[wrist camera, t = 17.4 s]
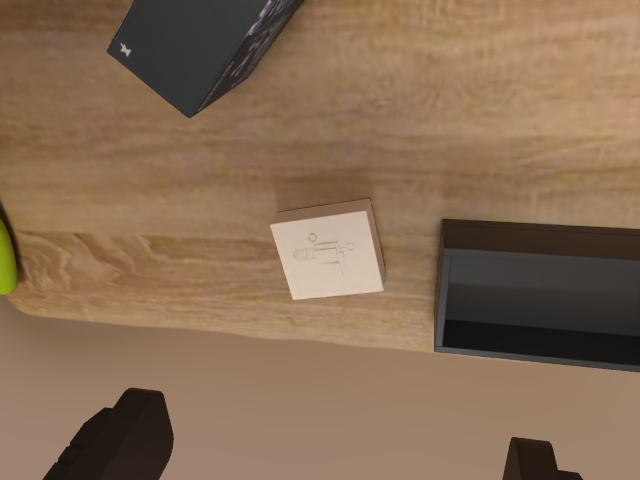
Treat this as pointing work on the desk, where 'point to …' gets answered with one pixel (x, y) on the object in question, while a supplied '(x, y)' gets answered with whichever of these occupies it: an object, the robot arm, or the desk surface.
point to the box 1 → (197, 45)
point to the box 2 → (330, 250)
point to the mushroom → (7, 262)
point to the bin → (539, 293)
